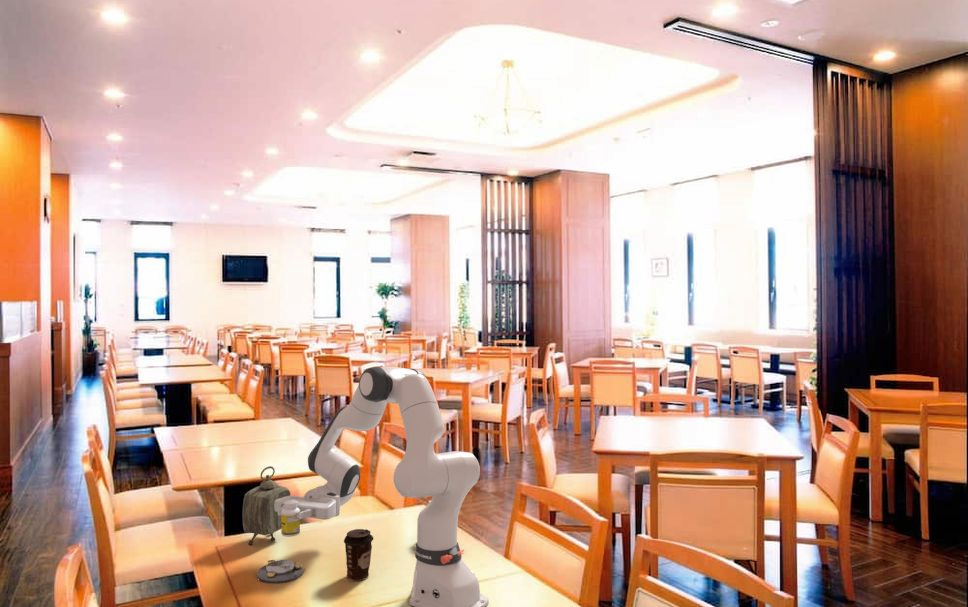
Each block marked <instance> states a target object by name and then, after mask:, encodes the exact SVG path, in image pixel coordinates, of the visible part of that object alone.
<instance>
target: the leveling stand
mask: <svg viewBox="0 0 968 607" xmlns="http://www.w3.org/2000/svg"><path fill="white" fill-rule="evenodd" d="M303 574H304V566H303V564H302V562H295V561H293V560H289V559H287V560H286V559H280V560H275V559H269V560H267V564H265V565H263V566H261V567H260V568H259V569H258V570H257V572H256V577H257V580H258V579H259V580H258V581H260V582H262V583H265V582H266V583H265V584H283V583H284V582H285V583H288V582H292V581H294V580H297V579H299V578H300V577H301V576H303ZM285 583H284V584H285Z"/></svg>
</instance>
